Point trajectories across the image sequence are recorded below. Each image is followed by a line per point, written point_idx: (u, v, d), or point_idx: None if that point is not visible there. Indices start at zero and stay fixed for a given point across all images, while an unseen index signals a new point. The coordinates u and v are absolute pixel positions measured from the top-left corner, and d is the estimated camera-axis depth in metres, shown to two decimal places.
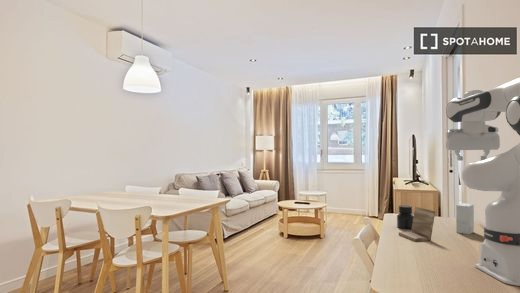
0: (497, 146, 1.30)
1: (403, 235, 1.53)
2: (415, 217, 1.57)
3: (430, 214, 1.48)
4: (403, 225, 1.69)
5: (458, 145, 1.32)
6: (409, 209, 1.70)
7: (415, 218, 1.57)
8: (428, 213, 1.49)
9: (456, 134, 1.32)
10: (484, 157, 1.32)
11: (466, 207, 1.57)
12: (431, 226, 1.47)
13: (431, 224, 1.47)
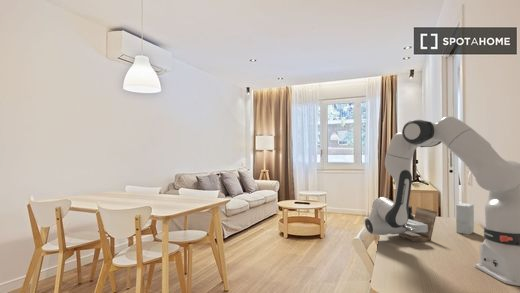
0: None
1: (403, 235, 1.53)
2: (416, 217, 1.57)
3: (432, 214, 1.48)
4: None
5: (419, 223, 1.45)
6: (409, 209, 1.70)
7: (416, 218, 1.57)
8: (430, 213, 1.49)
9: (411, 224, 1.43)
10: (418, 221, 1.53)
11: (466, 207, 1.57)
12: (432, 226, 1.47)
13: (432, 224, 1.47)
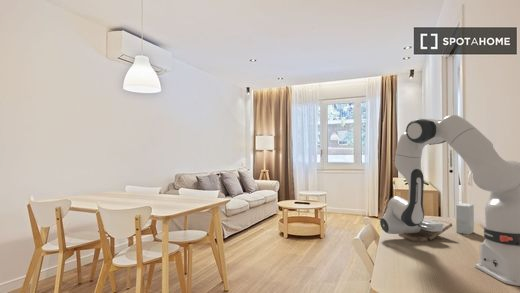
0: None
1: (403, 235, 1.53)
2: None
3: (447, 224, 1.50)
4: None
5: (434, 222, 1.47)
6: None
7: None
8: (445, 223, 1.51)
9: (426, 223, 1.45)
10: (432, 220, 1.55)
11: (466, 207, 1.57)
12: (440, 231, 1.48)
13: None
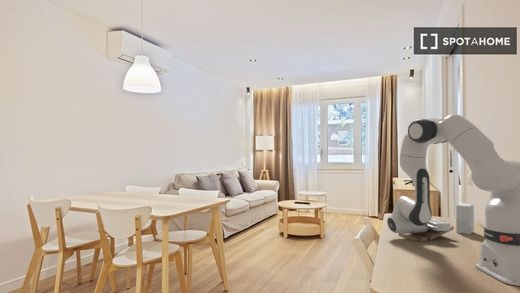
0: None
1: (403, 235, 1.53)
2: None
3: None
4: None
5: (441, 221, 1.47)
6: None
7: None
8: None
9: (434, 222, 1.46)
10: (439, 220, 1.55)
11: (466, 207, 1.57)
12: (441, 233, 1.48)
13: (442, 232, 1.48)
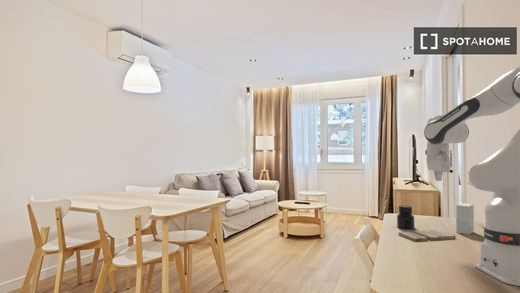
0: None
1: (403, 235, 1.53)
2: (429, 230, 1.59)
3: (451, 235, 1.50)
4: (403, 225, 1.69)
5: None
6: (409, 209, 1.70)
7: (429, 230, 1.58)
8: (448, 234, 1.51)
9: None
10: None
11: (466, 207, 1.57)
12: (442, 237, 1.48)
13: (444, 237, 1.48)
